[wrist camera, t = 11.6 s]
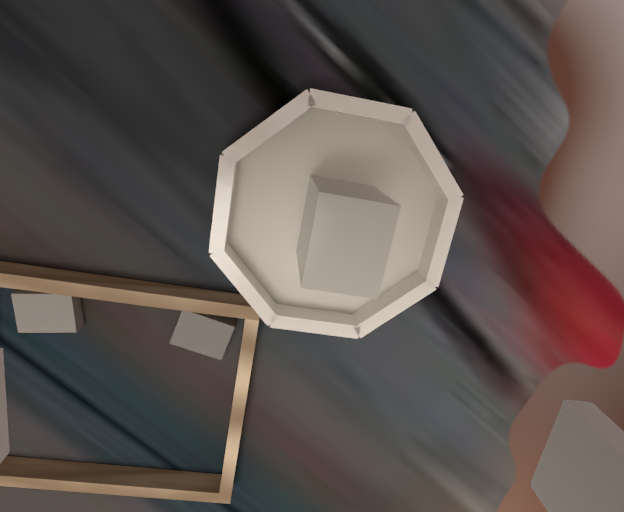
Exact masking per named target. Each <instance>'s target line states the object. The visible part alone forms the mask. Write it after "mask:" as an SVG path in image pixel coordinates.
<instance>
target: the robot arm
mask: <svg viewBox="0 0 624 512" xmlns="http://www.w3.org/2000/svg"><path fill="white" fill-rule="evenodd" d="M9 452H10V451H9V436H8V420H7V405H6V389H5V373H4V358H3V348H0V464H1V462H2V461H3V460H4V459H5V457H6V456H7V455H8V453H9ZM530 486H531V487H532V489H533V490H534V492H535V493H536V494H537V496H538V498H539V499H540V501H541V502H542V503H543V505H544V507H545V508H546V509H547V511H548V512H624V432H623V431H622V430H621V429H620V428H619V427H618V426H617V425H616V424H615V423H614V422H613V421H611V420H610V419H609V418H608V417H607V416H606V415H605V414H604V413H603V412H602V411H600V409H598V408H597V407H596V406H595V405H594V404H593V403H592V402H584V401H574V400H564V401H563V404H562V406H561V408H560V411H559V413H558V416H557V418H556V421H555V424H554V426H553V428H552V431H551V433H550V436H549V438H548V441H547V443H546V446H545V449H544V451H543V453H542V456H541V459H540V461H539V463H538V466H537V468H536V471H535V473H534V476H533V478H532V481H531V483H530Z"/></svg>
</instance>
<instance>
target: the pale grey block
mask: <svg viewBox="0 0 624 512" xmlns="http://www.w3.org/2000/svg"><path fill="white" fill-rule="evenodd" d="M400 208H401V206H400V205H399V204H398V203H396V202H395V201H393V200H392V199H391V198H389V197H388V196H387V195H385V194H384V193H383V192H381V191H380V190H379V189H377V188H376V187H374V186H370V185H365V184H359V183H353V182H348V181H342V180H336V179H331V178H325V177H320V176H314V175H310V178H309V184H308V189H307V195H306V200H305V206H304V211H303V217H302V222H301V228H300V234H299V239H298V245H297V250H296V253H297V261H298V269H299V277H300V284H301V288H304V289H311V290H318V291H325V292H332V293H339V294H346V295H353V296H360V297H367V298H374V299H378V297H379V293H380V289H381V285H382V281H383V277H384V273H385V269H386V265H387V261H388V257H389V253H390V248H391V244H392V240H393V236H394V232H395V228H396V224H397V220H398V216H399V212H400Z"/></svg>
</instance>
